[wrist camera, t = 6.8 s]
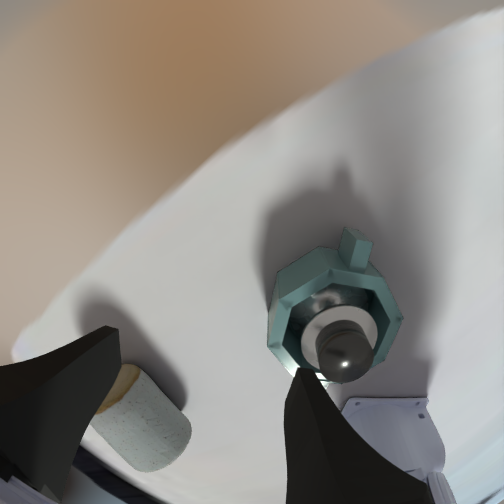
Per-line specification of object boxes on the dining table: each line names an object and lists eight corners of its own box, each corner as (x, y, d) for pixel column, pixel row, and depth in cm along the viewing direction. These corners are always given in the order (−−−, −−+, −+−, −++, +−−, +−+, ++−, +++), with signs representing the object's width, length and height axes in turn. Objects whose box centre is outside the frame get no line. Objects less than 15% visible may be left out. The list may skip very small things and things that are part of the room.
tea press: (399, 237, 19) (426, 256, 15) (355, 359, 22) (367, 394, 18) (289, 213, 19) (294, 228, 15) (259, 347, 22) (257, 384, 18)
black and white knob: (375, 277, 19) (411, 323, 13) (352, 344, 21) (373, 400, 15) (299, 263, 19) (311, 309, 13) (281, 334, 21) (283, 394, 15)
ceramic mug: (146, 348, 23) (109, 409, 16) (200, 409, 25) (182, 473, 18) (81, 374, 26) (45, 421, 18) (129, 425, 28) (105, 474, 20)
